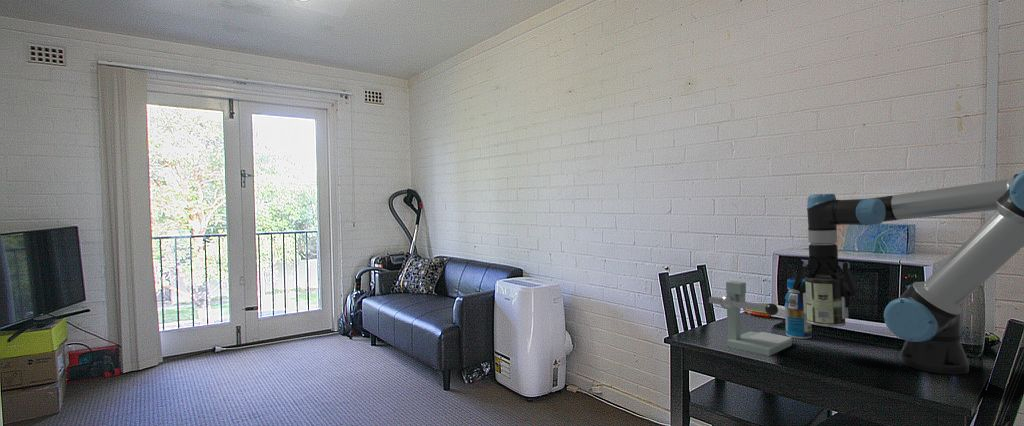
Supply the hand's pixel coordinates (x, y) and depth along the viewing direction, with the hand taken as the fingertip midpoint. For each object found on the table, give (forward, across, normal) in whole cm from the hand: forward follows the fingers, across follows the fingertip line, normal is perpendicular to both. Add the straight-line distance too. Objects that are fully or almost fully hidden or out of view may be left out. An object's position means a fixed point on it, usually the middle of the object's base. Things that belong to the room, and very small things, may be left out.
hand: (825, 315), depth 153 cm
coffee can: (+3, 0, 0) cm, 3 cm away
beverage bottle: (+13, +15, -16) cm, 25 cm away
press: (+12, +19, +3) cm, 23 cm away
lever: (-1, +20, +12) cm, 24 cm away
